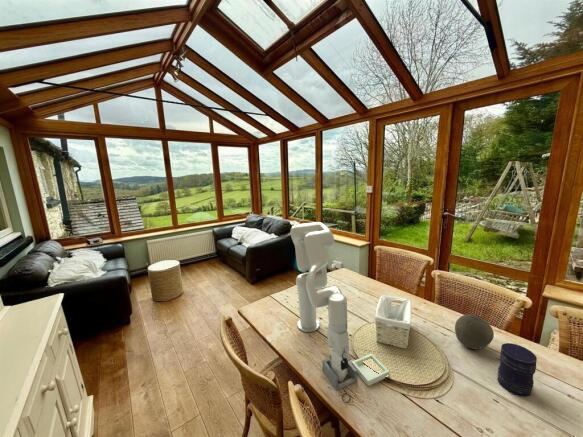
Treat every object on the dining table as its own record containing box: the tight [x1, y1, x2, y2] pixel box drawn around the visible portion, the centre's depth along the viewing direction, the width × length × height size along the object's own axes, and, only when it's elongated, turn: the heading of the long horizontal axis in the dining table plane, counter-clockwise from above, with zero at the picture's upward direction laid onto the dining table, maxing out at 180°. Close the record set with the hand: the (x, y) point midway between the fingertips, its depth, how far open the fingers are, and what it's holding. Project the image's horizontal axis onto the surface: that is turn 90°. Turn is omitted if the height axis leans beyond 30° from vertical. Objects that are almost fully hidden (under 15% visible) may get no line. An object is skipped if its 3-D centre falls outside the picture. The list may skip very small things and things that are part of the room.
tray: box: [351, 353, 390, 387], centre depth 101 cm, size 11×11×2 cm
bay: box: [321, 357, 358, 391], centre depth 100 cm, size 11×10×5 cm
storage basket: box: [374, 294, 412, 349], centre depth 123 cm, size 24×16×15 cm
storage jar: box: [497, 342, 538, 398], centre depth 90 cm, size 10×10×15 cm
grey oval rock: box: [454, 313, 495, 350], centre depth 111 cm, size 14×14×15 cm
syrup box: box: [329, 346, 349, 383], centre depth 99 cm, size 6×6×14 cm
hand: (338, 361), depth 99 cm, fingers closed on syrup box, 7 cm apart
